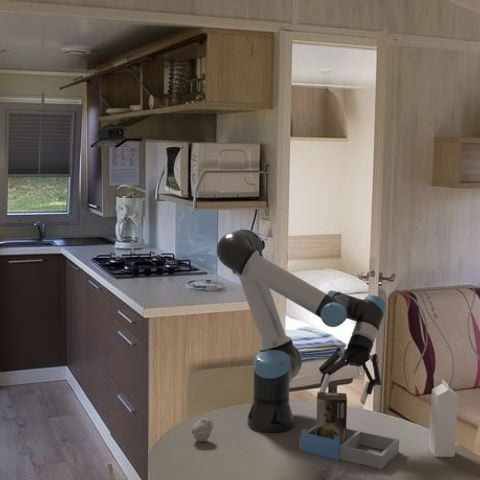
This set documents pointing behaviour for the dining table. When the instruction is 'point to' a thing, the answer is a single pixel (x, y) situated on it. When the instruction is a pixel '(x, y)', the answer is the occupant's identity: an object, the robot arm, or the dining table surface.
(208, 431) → the grey lumpy rounded piece
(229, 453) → the dining table surface
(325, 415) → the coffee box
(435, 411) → the milk
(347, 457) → the two-compartment sorting tray
